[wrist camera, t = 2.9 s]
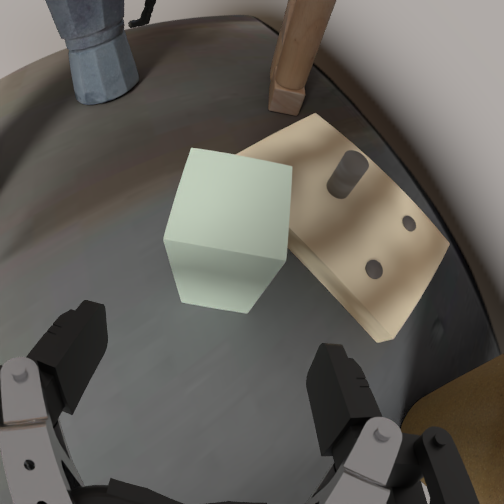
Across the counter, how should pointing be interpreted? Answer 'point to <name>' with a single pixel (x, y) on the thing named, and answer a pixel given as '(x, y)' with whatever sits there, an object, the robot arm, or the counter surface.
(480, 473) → the plant pot
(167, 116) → the counter surface
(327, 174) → the wooden board with holes
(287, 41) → the wooden block
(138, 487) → the robot arm
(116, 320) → the counter surface
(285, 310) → the counter surface
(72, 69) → the moka pot
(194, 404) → the counter surface
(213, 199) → the block
